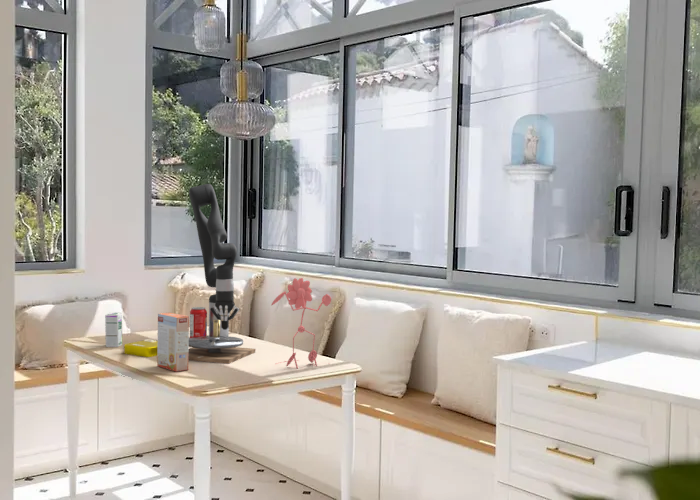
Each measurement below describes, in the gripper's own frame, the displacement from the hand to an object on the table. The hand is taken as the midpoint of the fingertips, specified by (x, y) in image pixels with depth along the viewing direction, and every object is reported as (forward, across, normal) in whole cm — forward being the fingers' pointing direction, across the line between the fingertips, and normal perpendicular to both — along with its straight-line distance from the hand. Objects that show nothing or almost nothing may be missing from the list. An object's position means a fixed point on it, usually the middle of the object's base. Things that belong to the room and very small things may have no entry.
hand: (225, 329), depth 333 cm
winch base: (+10, -2, -10) cm, 14 cm away
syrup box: (+9, -51, -1) cm, 52 cm away
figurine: (+10, +36, -19) cm, 43 cm away
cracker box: (+9, -9, -38) cm, 40 cm away
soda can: (+10, -21, +24) cm, 33 cm away
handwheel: (+4, -2, -10) cm, 11 cm away
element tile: (+10, -30, -11) cm, 34 cm away
